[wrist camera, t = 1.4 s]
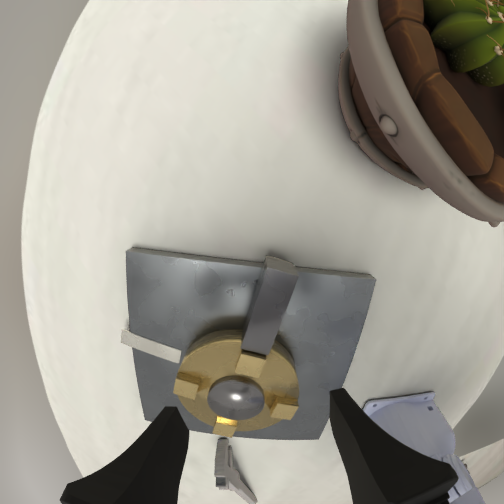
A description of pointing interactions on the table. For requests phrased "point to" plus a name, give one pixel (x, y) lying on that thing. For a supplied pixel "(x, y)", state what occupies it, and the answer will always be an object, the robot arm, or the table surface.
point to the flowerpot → (430, 96)
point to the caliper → (229, 473)
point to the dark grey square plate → (233, 317)
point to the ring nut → (245, 363)
